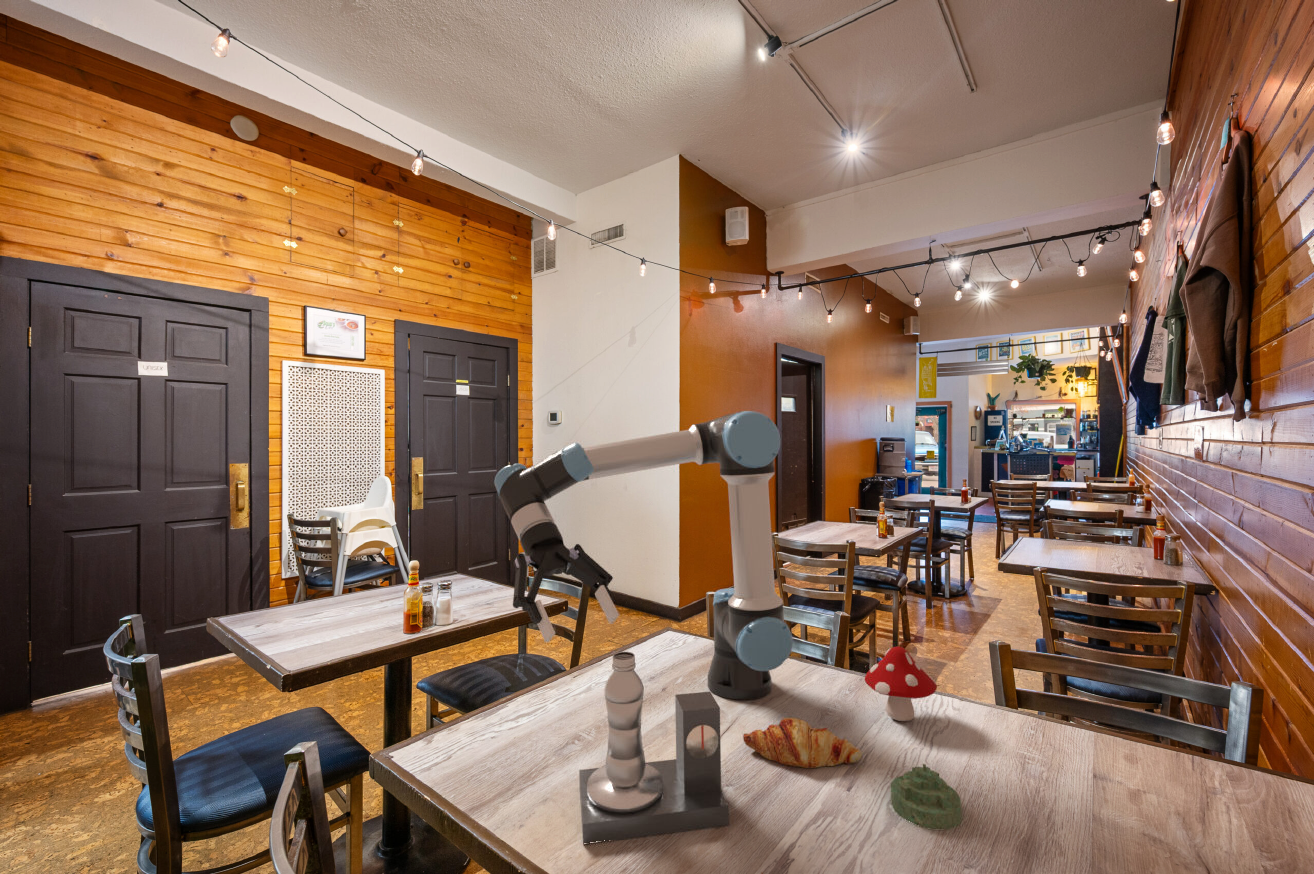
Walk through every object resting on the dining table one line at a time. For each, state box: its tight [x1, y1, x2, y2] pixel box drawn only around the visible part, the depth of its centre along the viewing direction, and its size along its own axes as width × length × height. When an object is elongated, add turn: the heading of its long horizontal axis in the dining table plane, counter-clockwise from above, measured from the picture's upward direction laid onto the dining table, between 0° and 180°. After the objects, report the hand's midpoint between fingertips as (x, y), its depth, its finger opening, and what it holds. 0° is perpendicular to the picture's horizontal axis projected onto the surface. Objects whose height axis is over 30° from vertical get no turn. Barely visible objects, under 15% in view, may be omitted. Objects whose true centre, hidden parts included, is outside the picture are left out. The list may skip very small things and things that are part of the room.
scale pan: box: [587, 764, 663, 812], centre depth 91 cm, size 12×12×1 cm
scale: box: [578, 691, 730, 845], centre depth 92 cm, size 22×14×16 cm, turn 100°
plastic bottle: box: [604, 651, 647, 787], centre depth 91 cm, size 6×7×20 cm
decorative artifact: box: [890, 763, 962, 830], centre depth 90 cm, size 10×7×10 cm
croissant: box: [742, 717, 862, 769], centre depth 105 cm, size 21×10×8 cm, turn 78°
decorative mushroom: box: [864, 646, 938, 722], centre depth 119 cm, size 14×14×15 cm
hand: (584, 628), depth 99 cm, fingers open, 13 cm apart
